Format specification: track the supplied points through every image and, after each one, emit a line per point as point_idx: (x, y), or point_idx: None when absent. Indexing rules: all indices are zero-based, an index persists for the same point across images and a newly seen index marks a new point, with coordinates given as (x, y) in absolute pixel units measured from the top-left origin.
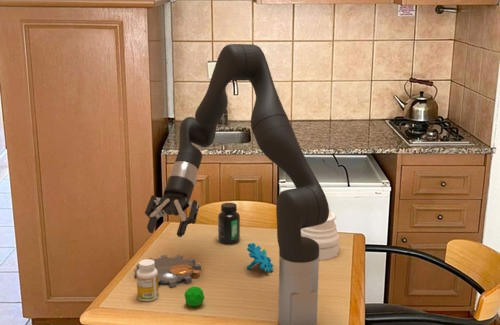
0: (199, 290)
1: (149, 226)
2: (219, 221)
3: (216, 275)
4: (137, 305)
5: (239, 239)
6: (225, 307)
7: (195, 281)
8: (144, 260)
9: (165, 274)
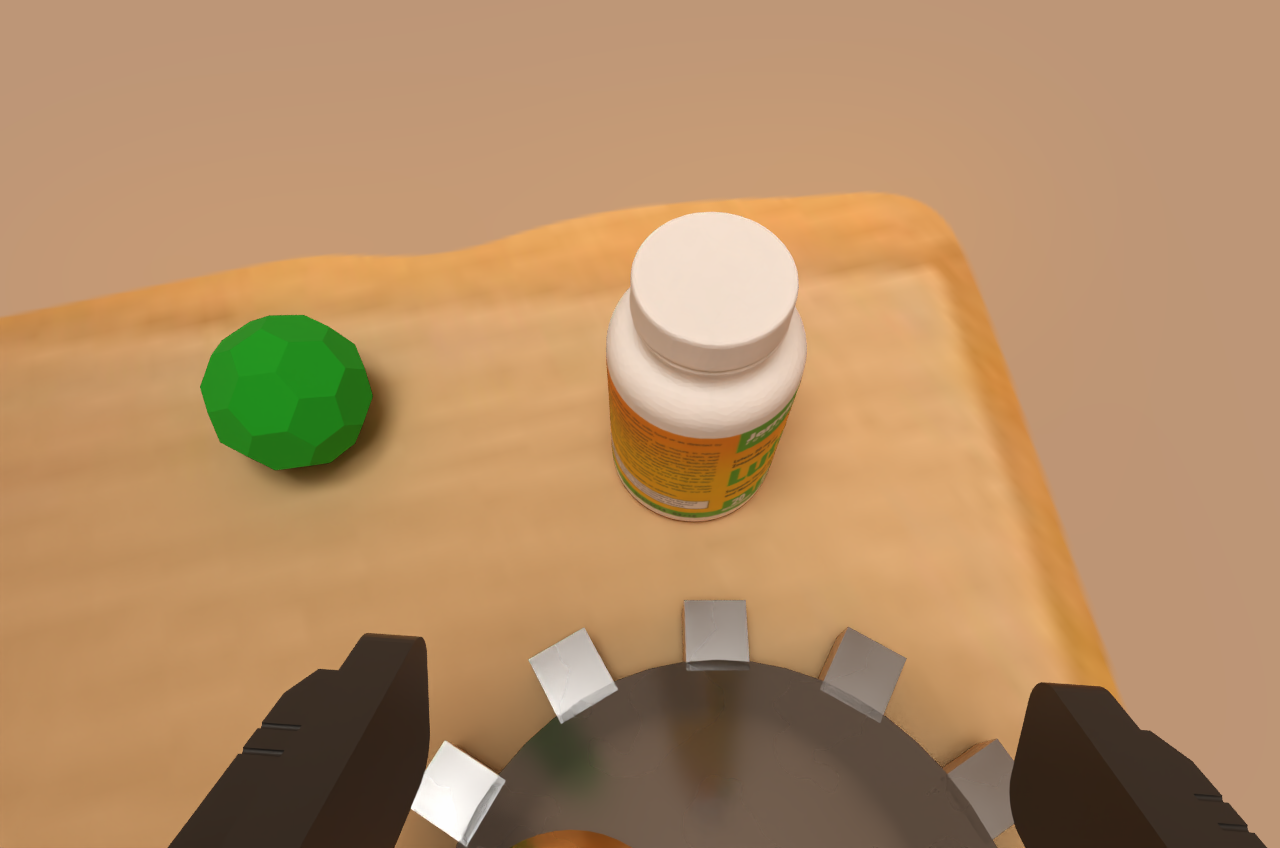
0: (216, 352)
1: (1122, 729)
2: None
3: None
4: None
5: None
6: (81, 448)
7: None
8: (760, 303)
9: (690, 793)
